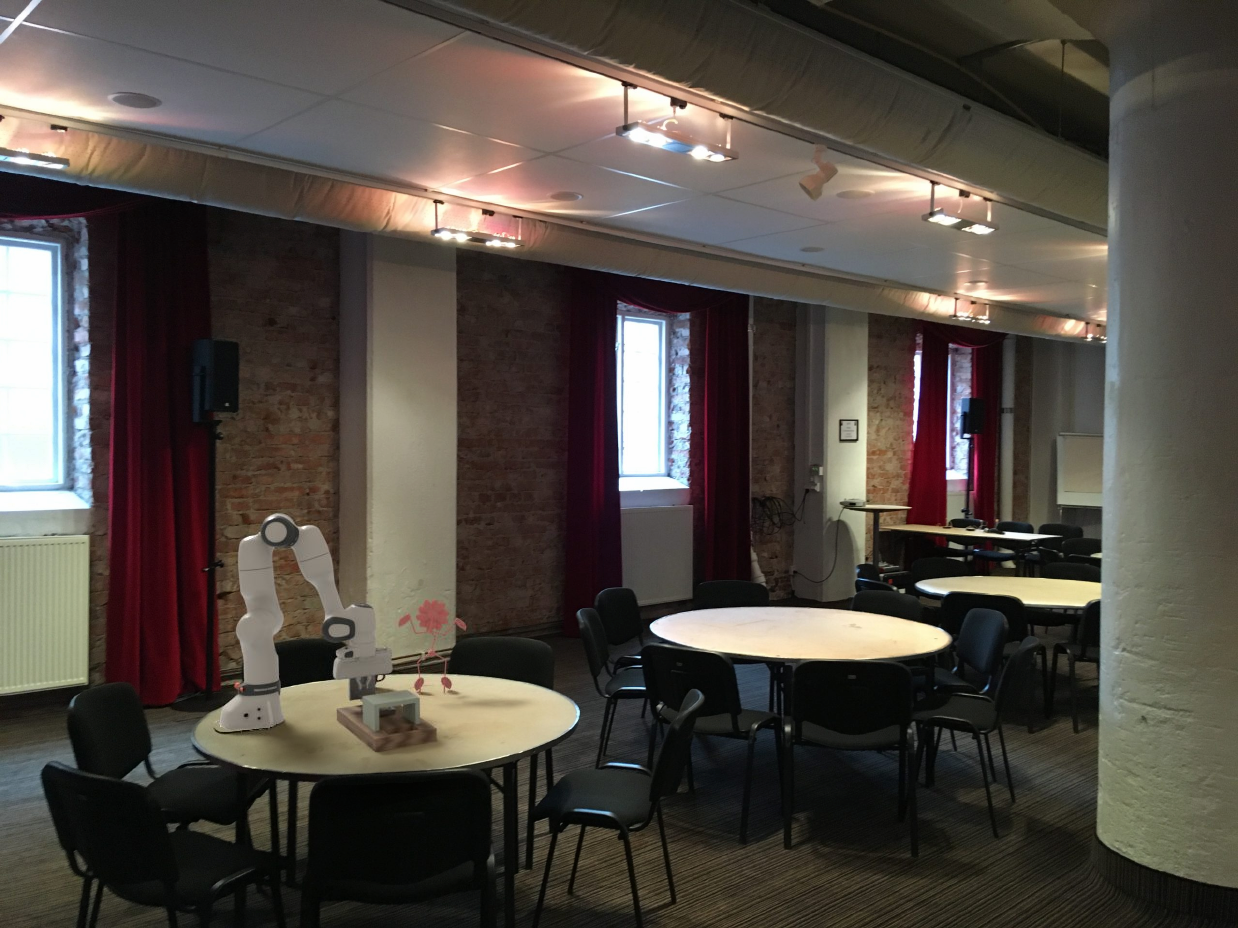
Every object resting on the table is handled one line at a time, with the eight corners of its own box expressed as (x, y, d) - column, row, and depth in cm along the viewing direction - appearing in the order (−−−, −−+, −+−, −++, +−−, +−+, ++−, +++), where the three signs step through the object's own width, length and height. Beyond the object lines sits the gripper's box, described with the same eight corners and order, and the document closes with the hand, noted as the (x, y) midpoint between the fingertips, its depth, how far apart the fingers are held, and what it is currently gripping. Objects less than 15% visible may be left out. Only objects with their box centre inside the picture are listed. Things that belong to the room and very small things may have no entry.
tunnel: (374, 731, 305) (374, 704, 305) (362, 722, 315) (362, 696, 315) (420, 723, 313) (419, 697, 313) (407, 714, 323) (406, 689, 323)
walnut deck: (375, 751, 297) (375, 738, 297) (336, 720, 332) (336, 708, 332) (436, 740, 308) (436, 728, 308) (393, 710, 342) (393, 699, 342)
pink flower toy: (466, 693, 365) (465, 600, 365) (397, 696, 363) (396, 603, 363) (468, 684, 381) (467, 595, 381) (401, 686, 378) (400, 597, 378)
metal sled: (369, 717, 319) (368, 687, 319) (348, 702, 338) (348, 674, 338) (395, 713, 324) (395, 683, 324) (374, 698, 343) (373, 670, 343)
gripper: (388, 644, 346) (389, 682, 346) (331, 651, 335) (331, 690, 335) (394, 647, 341) (395, 686, 341) (336, 654, 330) (337, 694, 330)
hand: (363, 688), depth 338 cm, fingers closed
